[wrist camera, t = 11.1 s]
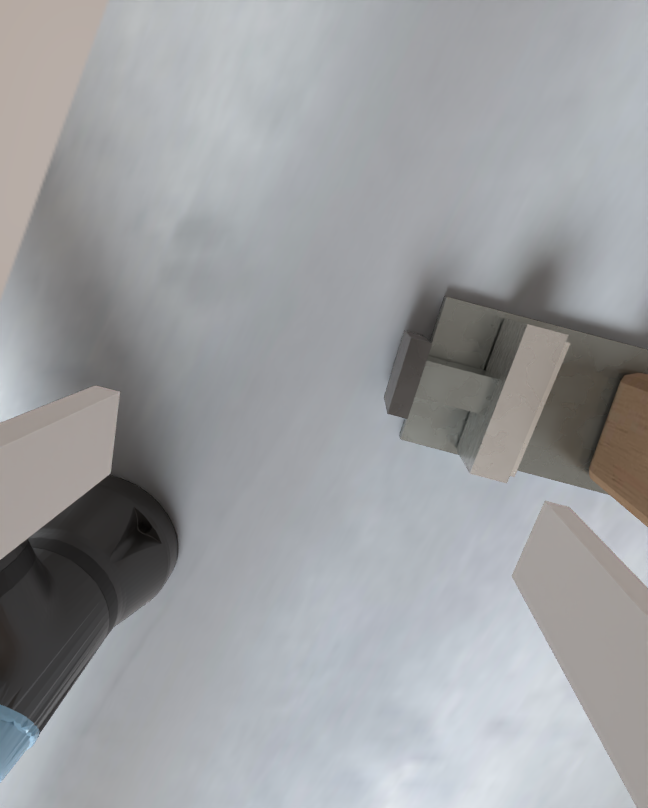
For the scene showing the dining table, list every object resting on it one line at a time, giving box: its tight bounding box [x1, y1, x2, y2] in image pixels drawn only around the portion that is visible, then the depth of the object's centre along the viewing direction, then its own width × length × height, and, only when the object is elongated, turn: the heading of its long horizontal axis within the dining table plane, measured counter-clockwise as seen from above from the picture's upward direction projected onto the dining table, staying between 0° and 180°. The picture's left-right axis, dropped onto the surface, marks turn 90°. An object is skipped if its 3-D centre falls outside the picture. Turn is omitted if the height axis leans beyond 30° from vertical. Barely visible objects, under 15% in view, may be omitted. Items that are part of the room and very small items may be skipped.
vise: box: [399, 296, 648, 495], centre depth 35 cm, size 31×13×6 cm, turn 76°
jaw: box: [384, 319, 570, 483], centre depth 35 cm, size 11×12×5 cm
